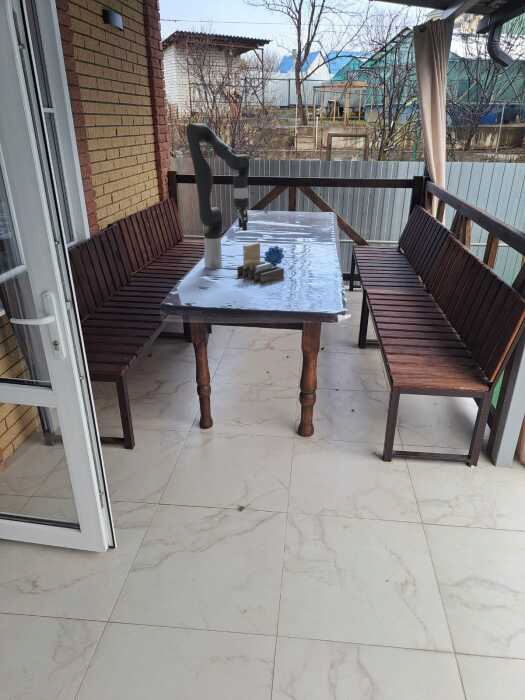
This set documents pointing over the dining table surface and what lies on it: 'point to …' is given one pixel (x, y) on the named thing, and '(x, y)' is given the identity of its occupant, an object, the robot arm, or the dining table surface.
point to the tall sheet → (251, 254)
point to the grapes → (274, 256)
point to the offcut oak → (253, 265)
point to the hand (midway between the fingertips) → (242, 228)
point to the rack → (260, 274)
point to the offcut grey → (263, 266)
